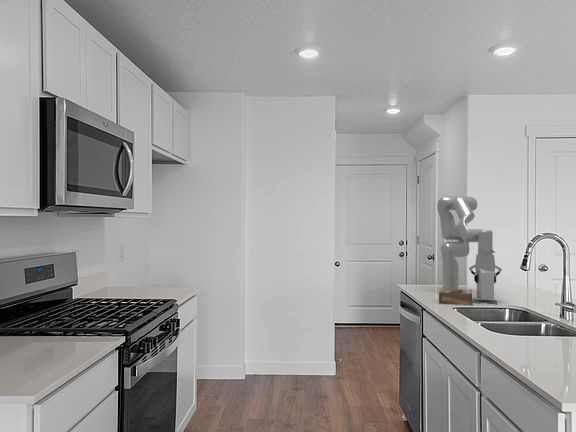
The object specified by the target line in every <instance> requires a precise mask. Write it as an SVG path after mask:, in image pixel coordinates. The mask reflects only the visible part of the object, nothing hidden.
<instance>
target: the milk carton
mask: <svg viewBox="0 0 576 432" xmlns="http://www.w3.org/2000/svg"><path fill="white" fill-rule="evenodd" d="M480 271H481V272H478V274H477V283H476V299H481V300H495V284H494V272H492V271H488V270H484V269H480Z"/></svg>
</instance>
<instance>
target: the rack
mask: <svg viewBox="0 0 576 432" xmlns="http://www.w3.org/2000/svg"><path fill="white" fill-rule="evenodd" d="M438 304H440V305H441V304H443V305H459V306H460V305H461V306H472V305H473V289H468V293H467V292H466V293H464V292H462V293H448V292H443V287H442V288H440V289H439V292H438Z"/></svg>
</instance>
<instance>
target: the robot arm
mask: <svg viewBox="0 0 576 432" xmlns="http://www.w3.org/2000/svg"><path fill="white" fill-rule="evenodd" d="M436 206H437V208H436V209H437V214H438V216H439V219H440V228H441V229H440V230H441V231H440V232H441V237H442V238H443V240H447V241H446V242H443V243H442V244H441V245H440V253H441V257H442V258H441V261H442V288H443V292H448V293H449V291H452V290H454V289H457V290H459V262H458V260H457V259H456V258H464V257H467V256H468V255H470V243H477V254H476V256H475V264H473V265H472V266H469V267H468V270H469V271H470V273H471V274H472V275H473V276H474V277H473V278H474V279H473V280H474V282H475V284H477V274H478V272H481V271H480V269H484V270H488V271H492V272H494V285H496V283H497V277H498V275H500V273H501V272H502V271H503V268H501V267H500V266H497V265H496V261H495V253H496V250H495V249H493V243H494V242H493V240H494V239H493V238H494V237H493V235H494V234H493V231H492V230H490V229H484V228H483V229H482V228H478V229H477V228H472V229H471V228H468V227H467V224H468V223H470V222H471V223H472V221H473V220H474V219H475V217H476V215H475V213H474V211H476V210H477V208H478V201H477V199H476V198H475V197H473V196H442V197H440V198H439V199H438V201H437V203H436ZM451 211H455V212H456V214H457V216H458V219H459V223H458V224H456V221H455V217H454V215H453V213H452V212H451ZM454 240H455V241H454ZM473 269H475V271H474V270H473ZM496 270H497V272H495V271H496Z"/></svg>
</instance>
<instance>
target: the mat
mask: <svg viewBox="0 0 576 432" xmlns="http://www.w3.org/2000/svg"><path fill="white" fill-rule="evenodd" d="M480 303H487V304H486V305H499V304H498V301H497V300H496V299H494V300H481V299H479V298H473V304H480Z"/></svg>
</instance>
